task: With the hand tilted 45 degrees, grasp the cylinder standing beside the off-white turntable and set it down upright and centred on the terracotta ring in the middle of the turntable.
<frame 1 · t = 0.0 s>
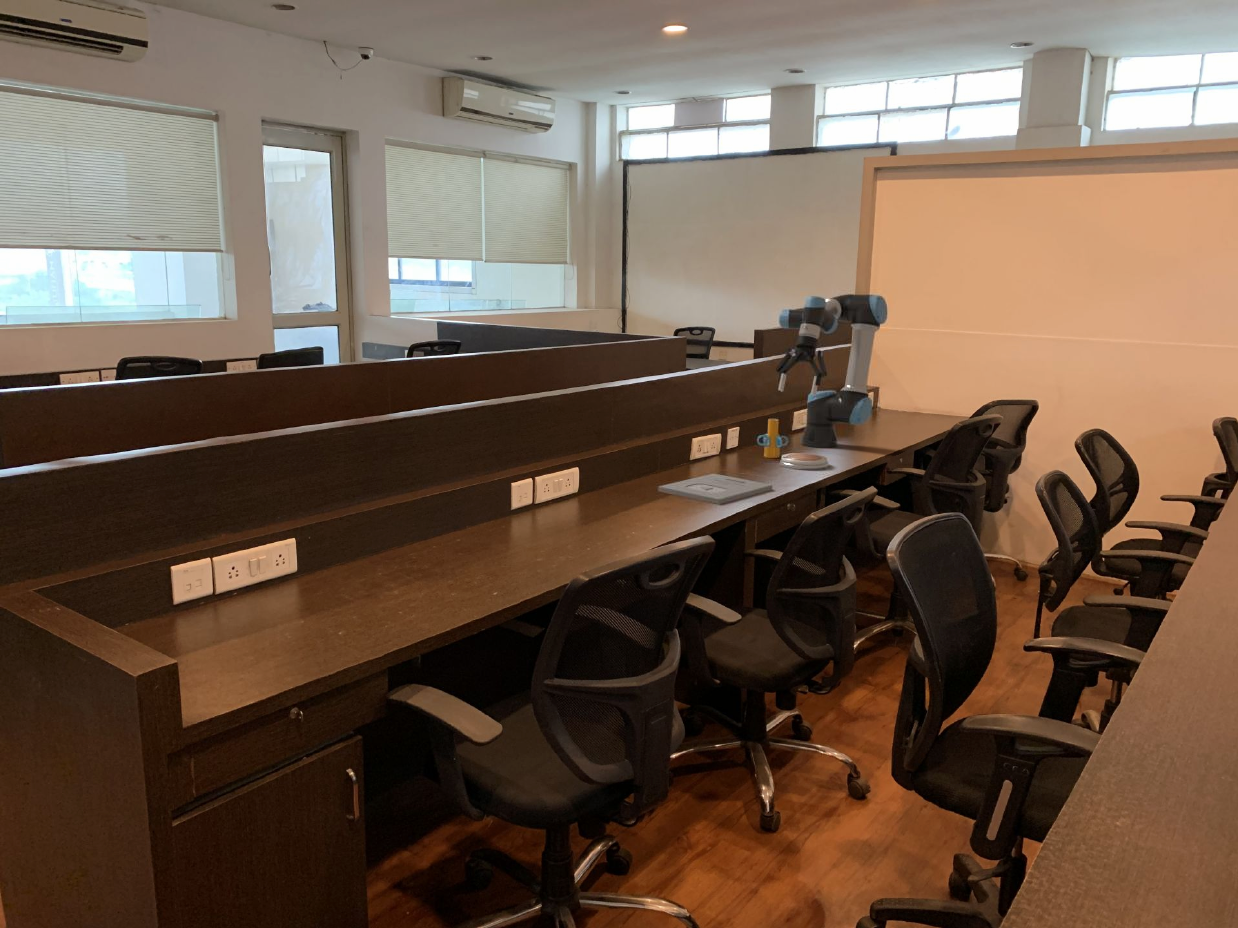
hand: (796, 392, 346), 28 cm above the table, tool tilted 20°, fingers open, 13 cm apart
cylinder: (771, 457, 368), on the table
platter: (804, 459, 351), point 2 cm above the table, hinge at 0.0°
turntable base: (803, 465, 352), on the table
award plaque: (715, 492, 308), on the table
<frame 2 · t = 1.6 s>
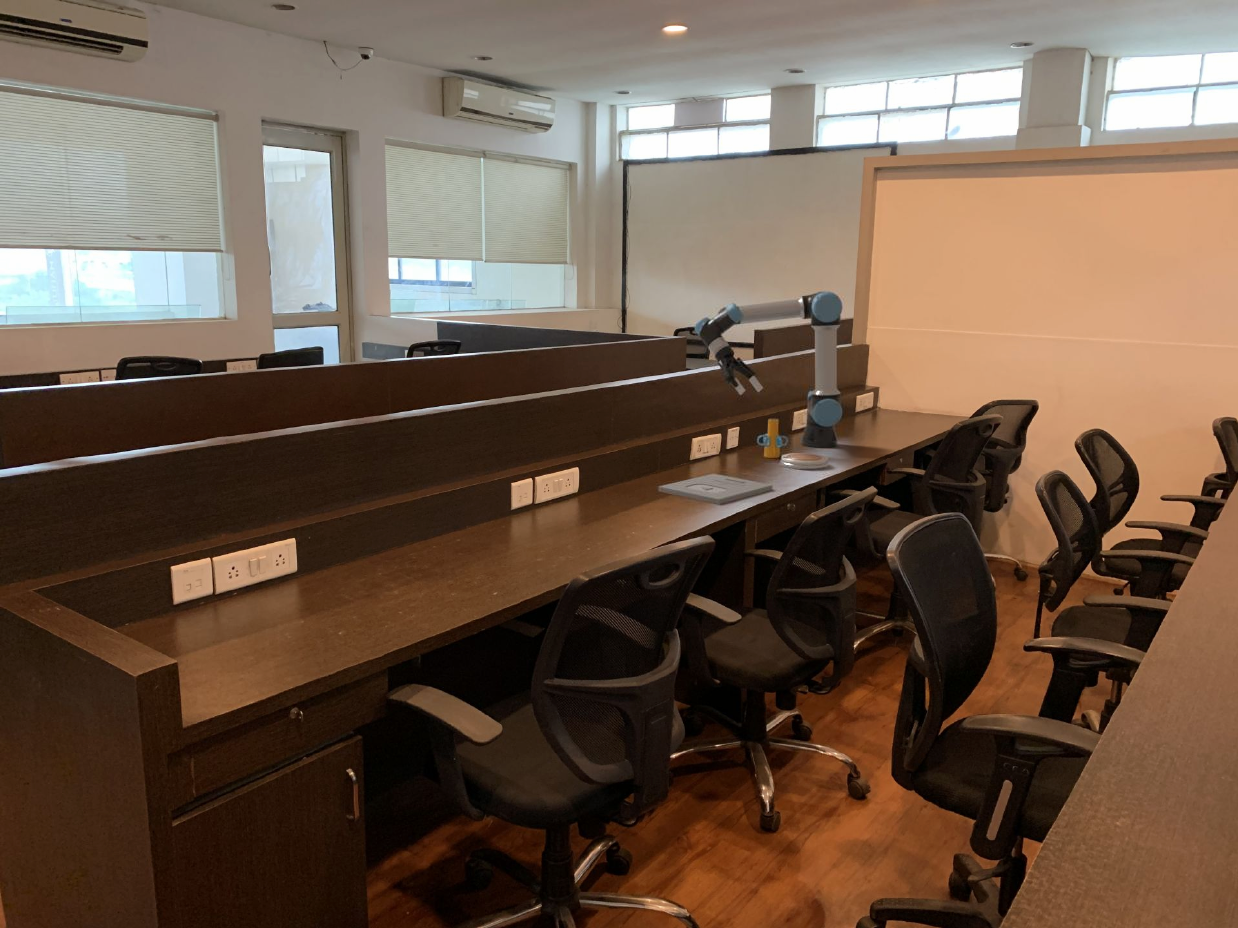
hand: (751, 391, 369), 25 cm above the table, tool tilted 45°, fingers open, 13 cm apart
nothing on the table moved.
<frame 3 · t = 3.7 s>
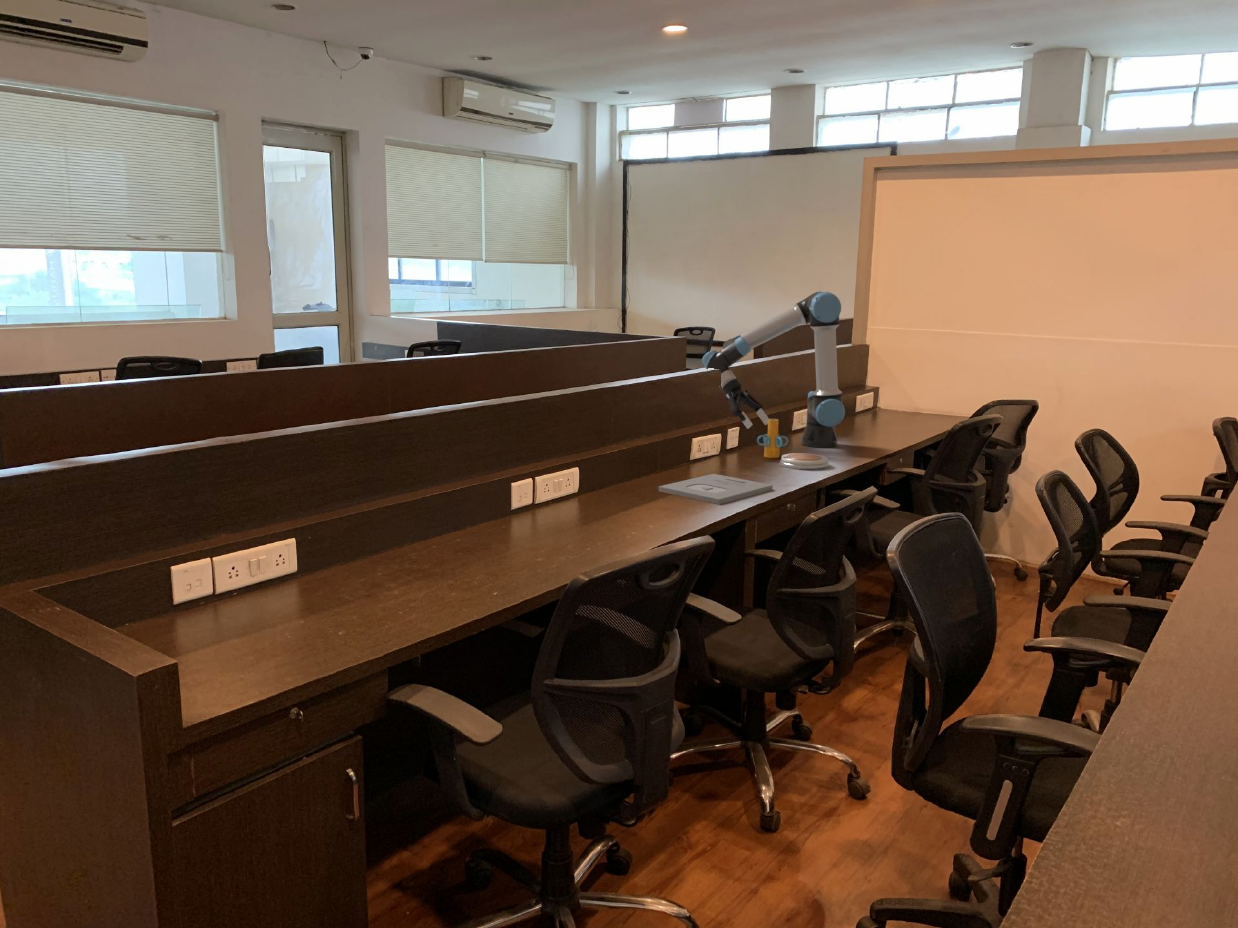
hand: (759, 424, 368), 12 cm above the table, tool tilted 45°, fingers open, 13 cm apart
nothing on the table moved.
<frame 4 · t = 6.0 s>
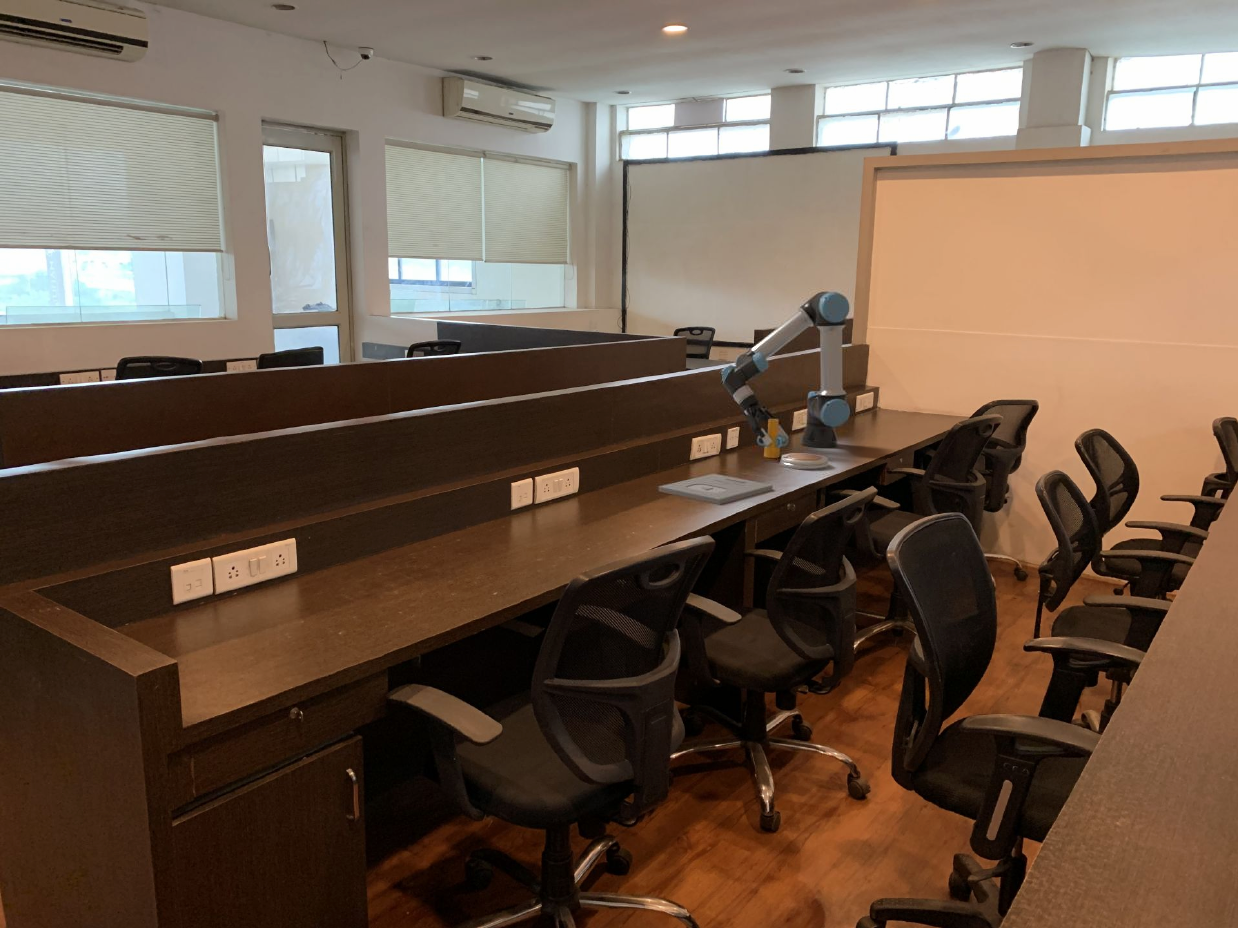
hand: (778, 441, 365), 6 cm above the table, tool tilted 45°, fingers closed on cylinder, 12 cm apart
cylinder: (771, 457, 368), on the table, touching gripper
everything else where it was.
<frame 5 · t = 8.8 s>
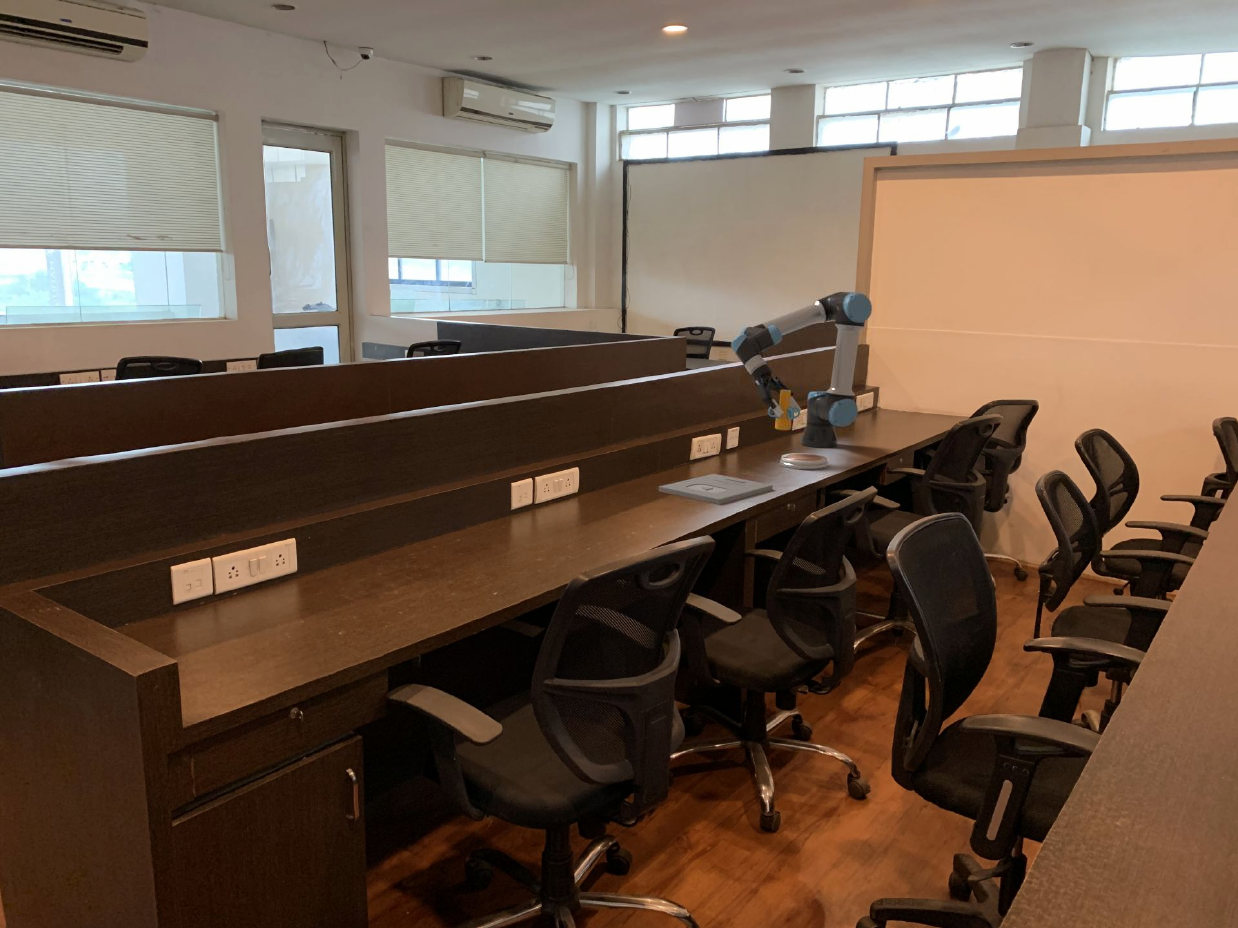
hand: (789, 413, 354), 19 cm above the table, tool tilted 45°, fingers closed on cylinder, 12 cm apart
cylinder: (782, 429, 357), point 12 cm above the table, touching gripper
everything else where it was.
when the fingers open (11 cm above the table, at t = 12.0 s): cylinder drops 2 cm, resting on platter.
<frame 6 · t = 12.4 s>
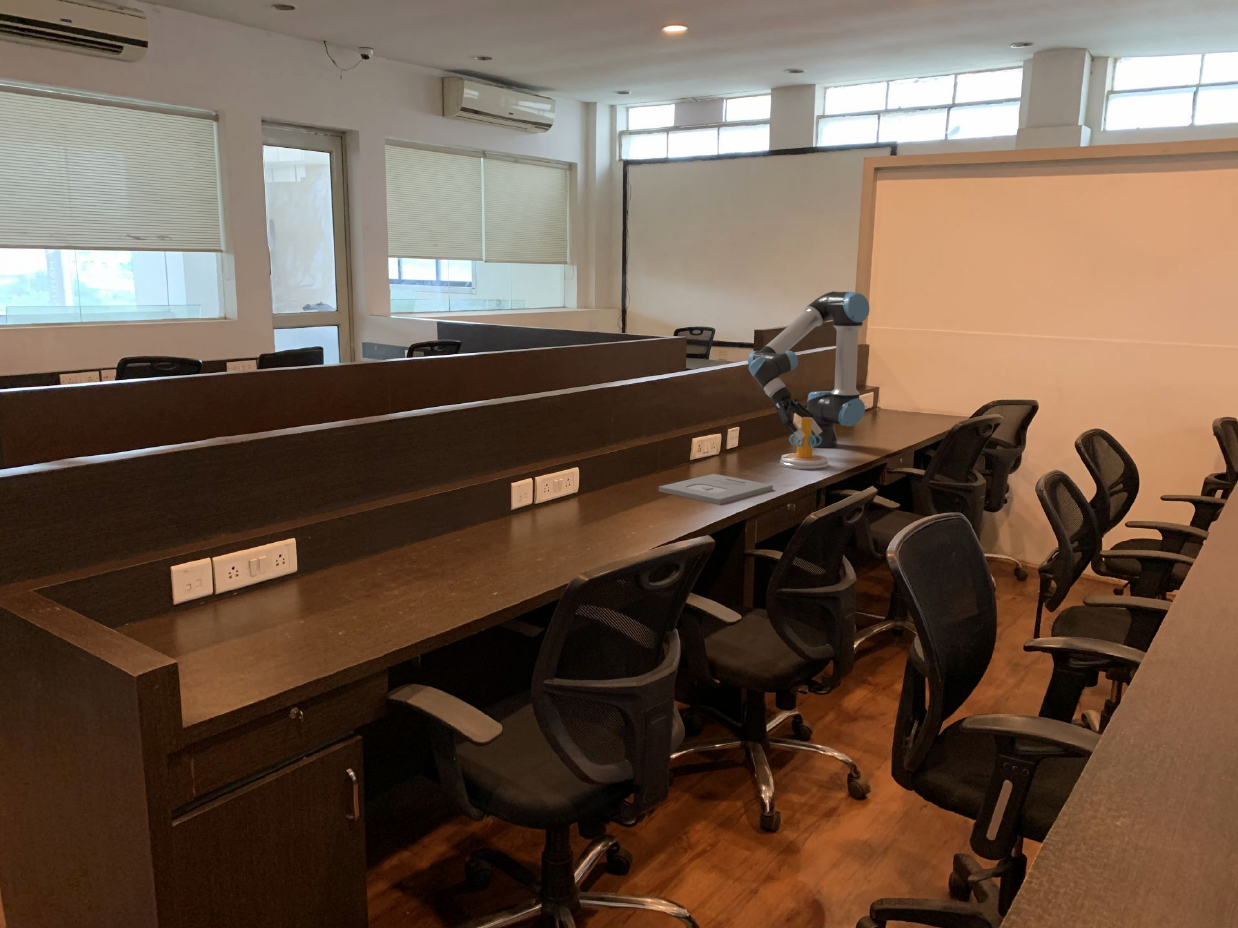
hand: (811, 435, 348), 12 cm above the table, tool tilted 45°, fingers open, 13 cm apart
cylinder: (804, 457, 351), point 3 cm above the table, touching platter
platter: (804, 459, 351), point 2 cm above the table, hinge at 0.0°, touching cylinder
everything else where it was.
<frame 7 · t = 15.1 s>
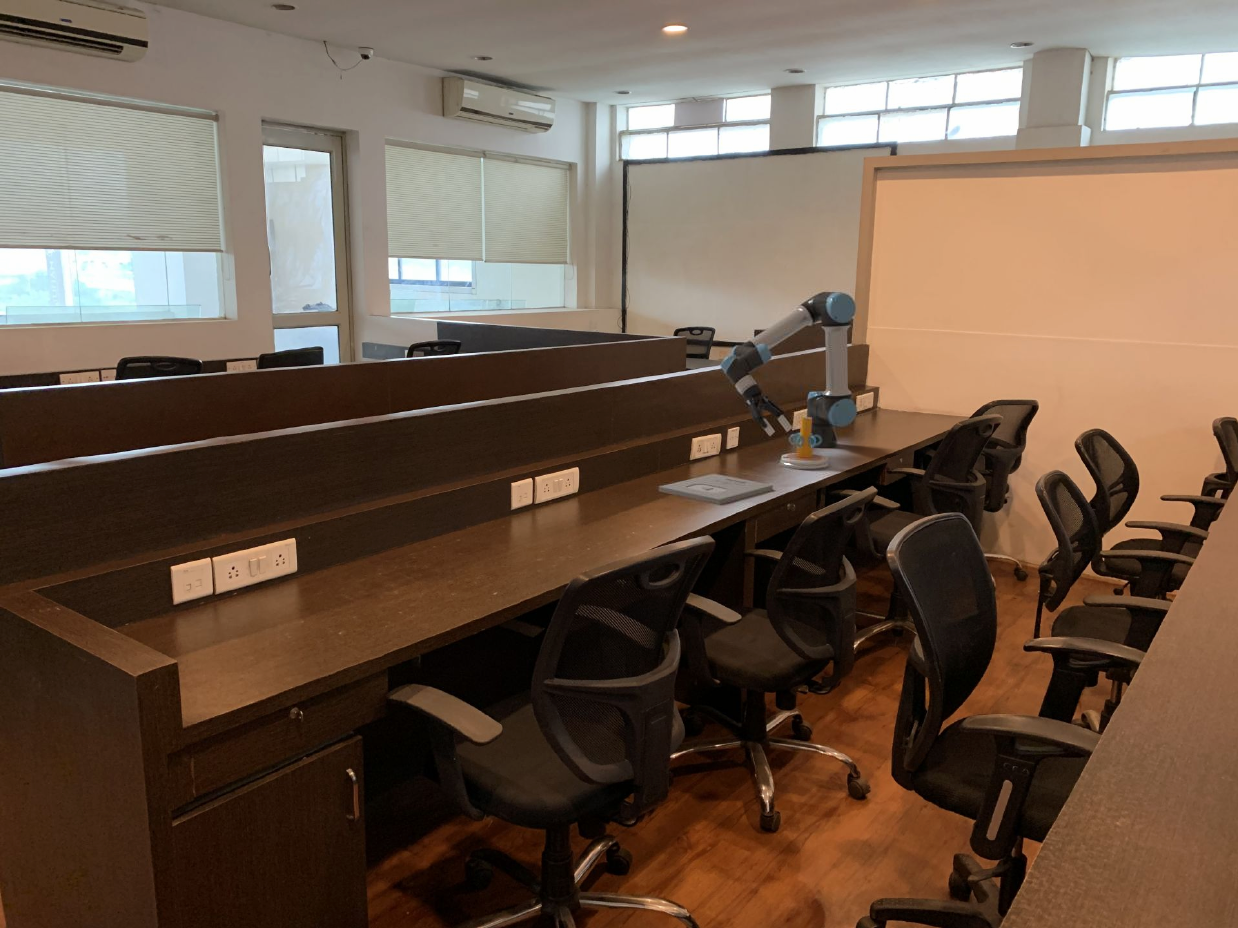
hand: (781, 431, 356), 12 cm above the table, tool tilted 45°, fingers open, 13 cm apart
nothing on the table moved.
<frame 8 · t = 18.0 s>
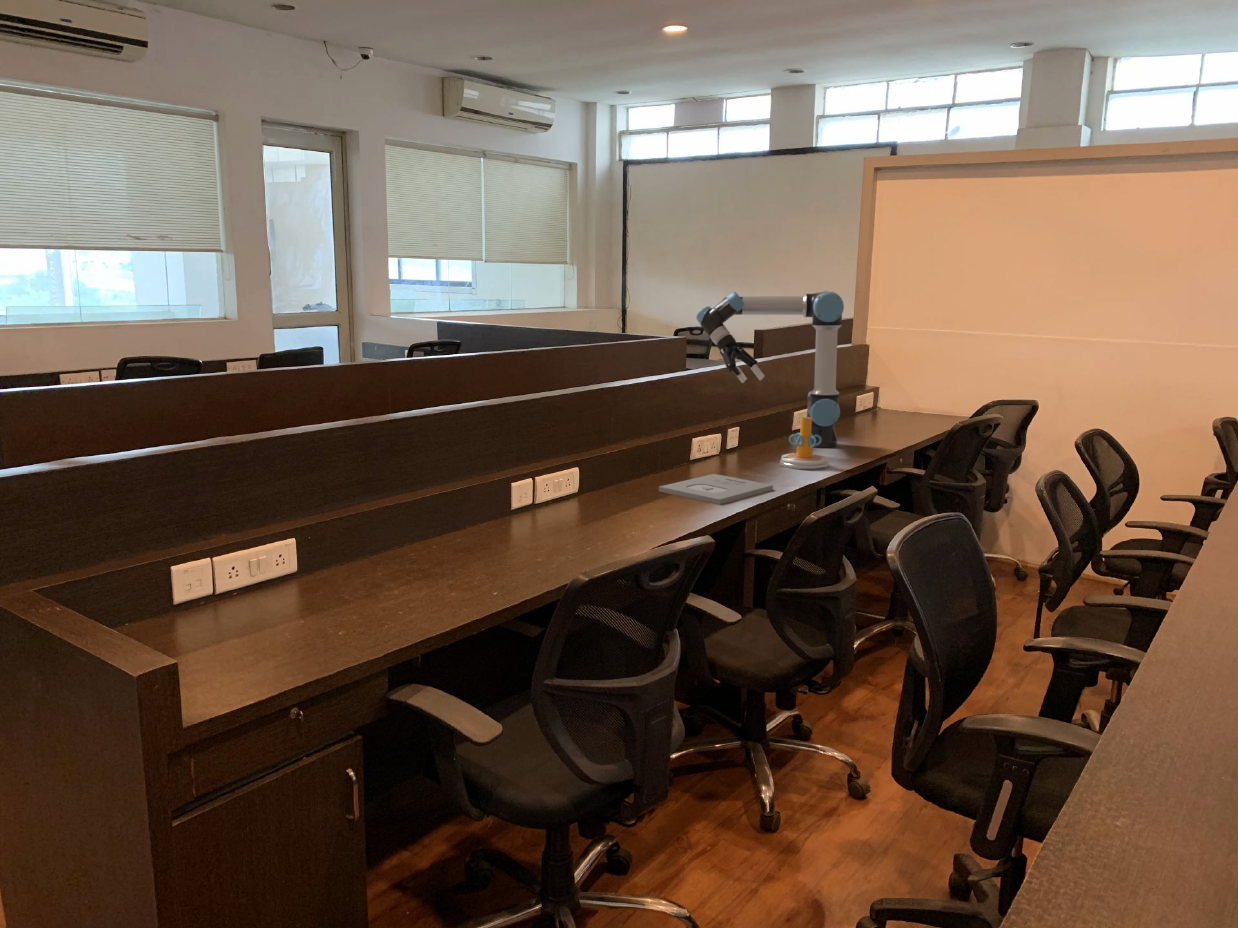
hand: (753, 379, 370), 30 cm above the table, tool tilted 45°, fingers open, 13 cm apart
nothing on the table moved.
at the end: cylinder 0.2 cm from the platter (horizontally); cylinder tilted 0°; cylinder point 3.1 cm above the table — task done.
